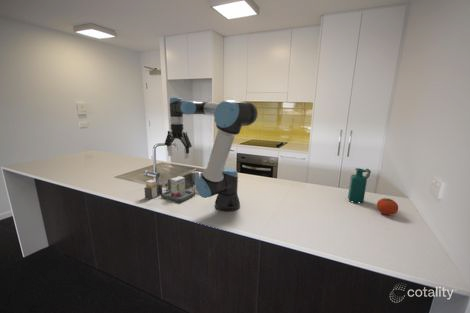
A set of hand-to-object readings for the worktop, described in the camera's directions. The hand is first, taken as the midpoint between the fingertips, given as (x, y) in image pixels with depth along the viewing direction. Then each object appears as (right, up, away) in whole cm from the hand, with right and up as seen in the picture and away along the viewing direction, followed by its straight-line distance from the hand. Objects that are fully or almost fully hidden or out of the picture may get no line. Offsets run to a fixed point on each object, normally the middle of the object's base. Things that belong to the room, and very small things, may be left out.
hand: (178, 157), depth 139 cm
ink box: (-1, -25, +5) cm, 26 cm away
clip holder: (-15, -25, +10) cm, 31 cm away
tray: (-1, -26, +5) cm, 27 cm away
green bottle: (+116, -29, +4) cm, 120 cm away
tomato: (+124, -33, -13) cm, 129 cm away
